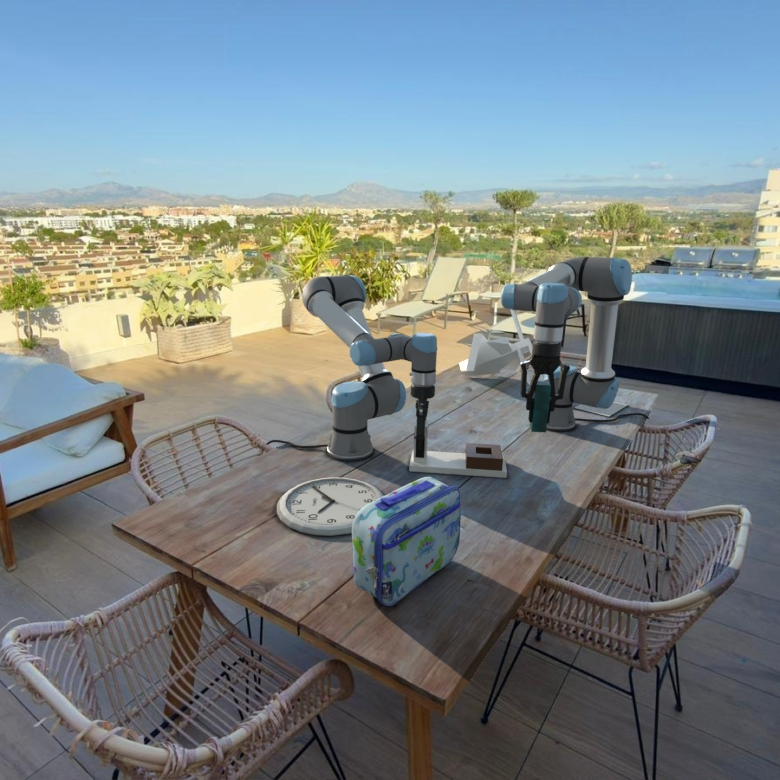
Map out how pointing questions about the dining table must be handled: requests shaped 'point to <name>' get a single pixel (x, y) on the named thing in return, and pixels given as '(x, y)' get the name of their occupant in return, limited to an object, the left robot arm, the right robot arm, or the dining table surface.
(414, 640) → the dining table surface
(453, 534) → the lunch box
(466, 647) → the dining table surface
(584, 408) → the invitation card
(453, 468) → the peg board
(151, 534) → the dining table surface
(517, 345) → the white plastic object
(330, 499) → the wall clock
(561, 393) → the right robot arm
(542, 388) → the peg
